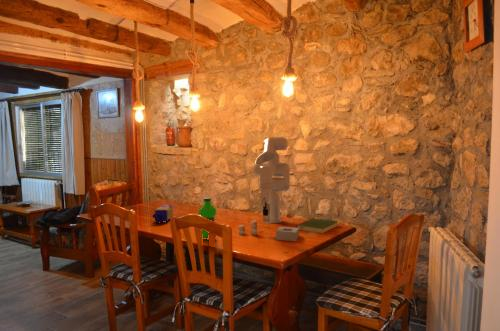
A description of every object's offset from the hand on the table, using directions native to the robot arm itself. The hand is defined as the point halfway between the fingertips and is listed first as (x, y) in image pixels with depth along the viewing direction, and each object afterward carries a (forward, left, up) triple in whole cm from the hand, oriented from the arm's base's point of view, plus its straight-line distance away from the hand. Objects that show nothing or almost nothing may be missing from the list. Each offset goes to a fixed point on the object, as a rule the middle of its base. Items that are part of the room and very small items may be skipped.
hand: (266, 214), depth 233 cm
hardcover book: (-25, +29, -14) cm, 41 cm away
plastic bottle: (+18, -32, -13) cm, 39 cm away
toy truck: (-23, -84, -13) cm, 88 cm away
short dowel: (+1, -16, -13) cm, 21 cm away
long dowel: (0, 0, -5) cm, 5 cm away
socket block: (+4, +14, -13) cm, 19 cm away
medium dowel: (+1, -8, -13) cm, 15 cm away
